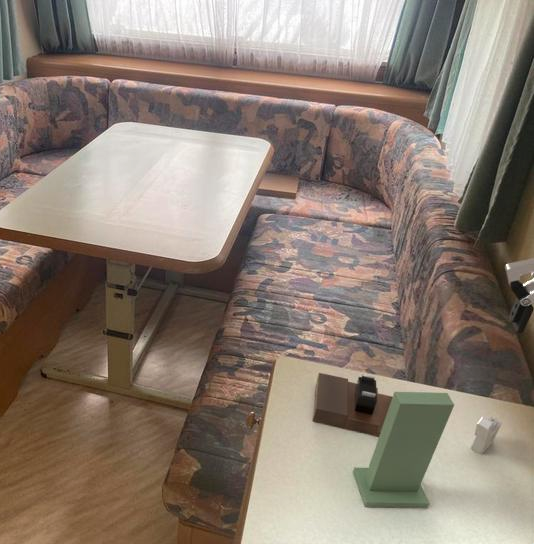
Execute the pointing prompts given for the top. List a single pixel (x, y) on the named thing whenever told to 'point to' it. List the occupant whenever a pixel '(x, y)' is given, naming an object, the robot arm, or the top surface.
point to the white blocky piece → (485, 434)
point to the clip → (365, 394)
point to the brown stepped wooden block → (346, 406)
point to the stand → (404, 450)
